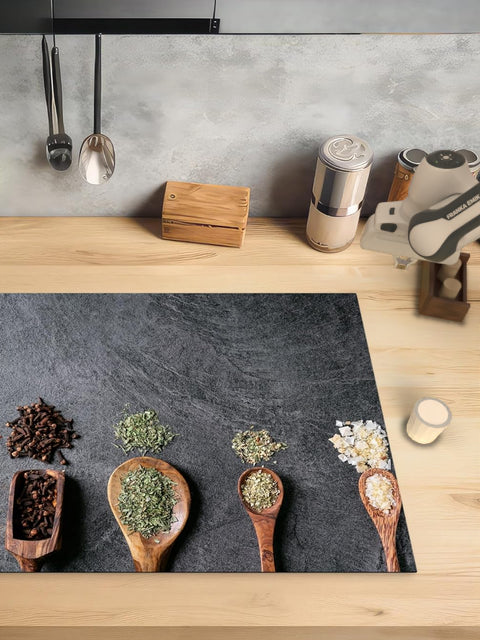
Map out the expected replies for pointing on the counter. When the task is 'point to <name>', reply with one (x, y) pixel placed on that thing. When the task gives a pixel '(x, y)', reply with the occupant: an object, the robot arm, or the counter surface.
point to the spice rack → (444, 289)
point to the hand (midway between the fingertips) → (400, 267)
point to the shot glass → (428, 420)
